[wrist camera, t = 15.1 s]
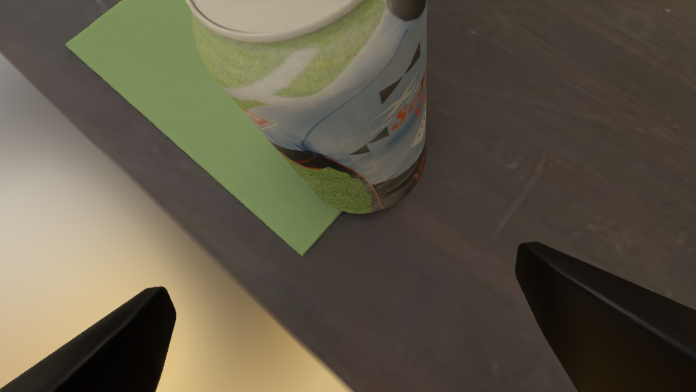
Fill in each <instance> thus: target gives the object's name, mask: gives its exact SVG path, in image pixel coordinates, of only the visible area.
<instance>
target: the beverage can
mask: <svg viewBox="0 0 696 392" xmlns="http://www.w3.org/2000/svg"><path fill="white" fill-rule="evenodd" d="M186 2H187V4H188V6H189V7H190V9H191V11H192V30H193V35H194V39H195V43H196V46H197V50H198V53H199V55H200V57H201V59H202V61H203V62H204V64H205V66H206V68H207V70H208V71H209V73H210V74H211V75H212V76H213V77H214V78H215V79H216V81H217V82H218V83H219V84H220V85H221V86H222V88H223V89H224V90H225V91H226V92H227V93H228V94H229V96H230V97H231V98H232V99H233V100H234V101H235V102H236V104H237V105H238V106H239V107H240V108H241V109H242V110H243V112H244V113H245V114H246V115H247V116H248V117H249V118H250V120H251V121H252V122H253V123H254V124H255V125H256V126H257V128H258V129H259V130H260V131H261V132H262V133H263V134H264V136H265V137H266V138H267V139H268V140H269V141H270V142H271V144H272V145H273V146H274V147H275V148H276V149H277V151H278V152H279V153H280V154H281V155H282V156H283V157H284V159H285V160H286V161H287V162H288V163H289V164H290V165H291V167H292V168H293V169H294V170H295V171H296V172H297V173H298V175H299V176H300V177H301V178H302V179H303V180H304V181H305V183H306V184H307V185H308V186H309V187H310V188H311V189H312V191H313V192H314V193H315V194H316V195H317V196H318V197H319V198H320V199H321V200H322V201H323V202H325V203H326V204H327V205H329V206H331V207H333V208H335V209H337V210H340V211H344V212H348V213H356V214H363V213H372V212H376V211H380V210H383V209H385V208H388V207H390V206H392V205H394V204H395V203H397V202H398V201H400V200H401V199H403V198H404V197H405V196H406V195H407V194H408V193H409V192H410V191H411V190H412V188H413V187H414V186H415V184H416V183H417V181H418V179H419V177H420V175H421V173H422V170H423V167H424V163H425V153H426V56H427V0H186Z"/></svg>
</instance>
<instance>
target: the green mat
mask: <svg viewBox="0 0 696 392" xmlns="http://www.w3.org/2000/svg"><path fill="white" fill-rule="evenodd" d="M65 45H66V46H67V47H68V48H69V49H70V50H71V51H72V52H73V53H75V54H76V55H77V56H78V57H79V58H80V59H81V60H82V61H84V62H85V63H86V64H87V65H88V66H89V67H90V68H91V69H92V70H94V71H95V72H96V73H97V74H98V75H99V76H100V77H101V78H103V79H104V80H105V81H106V82H107V83H108V84H109V85H110V86H112V87H113V88H114V89H115V90H116V91H117V92H118V93H119V94H121V95H122V96H123V97H124V98H125V99H126V100H127V101H128V102H129V103H131V104H132V105H133V106H134V107H135V108H136V109H137V110H138V111H140V112H141V113H142V114H143V115H144V116H145V117H146V118H147V119H149V120H150V121H151V122H152V123H153V124H154V125H155V126H156V127H157V128H159V129H160V130H161V131H162V132H163V133H164V134H165V135H166V136H168V137H169V138H170V139H171V140H172V141H173V142H174V143H175V144H177V145H178V146H179V147H180V148H181V149H182V150H183V151H184V152H185V153H187V154H188V155H189V156H190V157H191V158H192V159H193V160H194V161H196V162H197V163H198V164H199V165H200V166H201V167H202V168H203V169H205V170H206V171H207V172H208V173H209V174H210V175H211V176H212V177H214V178H215V179H216V180H217V181H218V182H219V183H220V184H221V185H222V186H224V187H225V188H226V189H227V190H228V191H229V192H230V193H231V194H233V195H234V196H235V197H236V198H237V199H238V200H239V201H240V202H242V203H243V204H244V205H245V206H246V207H247V208H248V209H249V210H250V211H252V212H253V213H254V214H255V215H256V216H257V217H258V218H259V219H261V220H262V221H263V222H264V223H265V224H266V225H267V226H268V227H270V228H271V229H272V230H273V231H274V232H275V233H276V234H277V235H278V236H280V237H281V238H282V239H283V240H284V241H285V242H286V243H287V244H289V245H290V246H291V247H292V248H293V249H294V250H295V251H296V252H298V253H299V254H300V255H301V256H302V257H303V256H304V255H305V254H306V252H307V251H308V250H309V249H310V248H311V247H312V246H313V245H314V243H315V242H316V241H317V240H318V239H319V238H320V237H321V236H322V234H323V233H324V232H325V231H326V230H327V229H328V228H329V227H330V225H331V224H332V223H333V222H334V221H335V220H336V219H337V218H338V216H339V215H340V214H341V213H342V212H343V211H340V210H337V209H335V208H333V207H331V206H329V205H327V204H326V203H325V202H323V201H322V200H321V199H320V198H319V197H318V196H317V195H316V194H315V193H314V192H313V191H312V189H311V188H310V187H309V186H308V185H307V184H306V183H305V181H304V180H303V179H302V178H301V177H300V176H299V175H298V173H297V172H296V171H295V170H294V169H293V168H292V167H291V165H290V164H289V163H288V162H287V161H286V160H285V159H284V157H283V156H282V155H281V154H280V153H279V152H278V151H277V149H276V148H275V147H274V146H273V145H272V144H271V142H270V141H269V140H268V139H267V138H266V137H265V136H264V134H263V133H262V132H261V131H260V130H259V129H258V128H257V126H256V125H255V124H254V123H253V122H252V121H251V120H250V118H249V117H248V116H247V115H246V114H245V113H244V112H243V110H242V109H241V108H240V107H239V106H238V105H237V104H236V102H235V101H234V100H233V99H232V98H231V97H230V96H229V94H228V93H227V92H226V91H225V90H224V89H223V88H222V86H221V85H220V84H219V83H218V82H217V81H216V79H215V78H214V77H213V76H212V75H211V74H210V73H209V71H208V70H207V68H206V66H205V64H204V62H203V61H202V59H201V57H200V55H199V53H198V50H197V46H196V43H195V39H194V35H193V30H192V11H191V9H190V7H189V6H188V4H187V2H186V0H122V1H120V2H119V3H118V4H116V5H115V6H114V7H113V8H111V9H110V10H109V11H107V12H106V13H105V14H104V15H102V16H101V17H100V18H98V19H97V20H96V21H95V22H93V23H92V24H91V25H90V26H88V27H87V28H86V29H84V30H83V31H82V32H81V33H79V34H78V35H77V36H75V37H74V38H73V39H72V40H70V41H69V42H68V43H66V44H65ZM426 116H427V115H426Z"/></svg>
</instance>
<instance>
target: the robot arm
mask: <svg viewBox="0 0 696 392" xmlns="http://www.w3.org/2000/svg"><path fill="white" fill-rule="evenodd" d="M515 274H516V278H517V280H518V282H519V285H520V287H521V289H522V291H523V293H524V295H525V297H526V299H527V302H528V304H529V306H530V308H531V310H532V312H533V314H534V317H535V319H536V321H537V323H538V325H539V327H540V329H541V331H542V333H543V335H544V336H545V338H546V340H547V341H548V343H549V345H550V346H551V348H552V350H553V351H554V353H555V355H556V356H557V358H558V360H559V361H560V363H561V364H562V366H563V368H564V369H565V371H566V373H567V374H568V376H569V378H570V379H571V381H572V383H573V384H574V386H575V387H576V389H577V391H578V392H696V310H694V309H692V308H689V307H687V306H685V305H682V304H680V303H678V302H675V301H673V300H671V299H669V298H666V297H664V296H662V295H659V294H657V293H655V292H652V291H650V290H648V289H645V288H643V287H641V286H638V285H636V284H634V283H632V282H629V281H627V280H625V279H622V278H620V277H618V276H615V275H613V274H611V273H608V272H606V271H604V270H601V269H599V268H597V267H595V266H592V265H590V264H588V263H585V262H583V261H581V260H578V259H576V258H574V257H571V256H569V255H567V254H564V253H562V252H560V251H558V250H555V249H553V248H551V247H548V246H546V245H544V244H541V243H539V242H527V243H521V244H520V245H519V246H518V250H517V258H516V266H515ZM175 321H176V310H175V308H174V305H173V303H172V301H171V299H170V296H169V294H168V292H167V290H166V288H164V287H162V286H161V287H152V288H147V289H145V290H143V291H142V292H140V293H139V294H137V295H136V296H134V297H133V298H132V299H130V300H129V301H127V302H126V303H124V304H123V305H121V306H120V307H119V308H117V309H116V310H114V311H113V312H111V313H110V314H108V315H107V316H105V317H104V318H102V319H101V320H100V321H98V322H97V323H95V324H94V325H92V326H91V327H89V328H88V329H87V330H85V331H84V332H82V333H81V334H79V335H78V336H76V337H75V338H73V339H72V340H71V341H69V342H68V343H66V344H65V345H63V346H62V347H60V348H59V349H57V350H56V351H55V352H53V353H52V354H50V355H49V356H47V357H46V358H44V359H43V360H41V361H40V362H39V363H37V364H36V365H34V366H33V367H31V368H30V369H28V370H27V371H25V372H24V373H23V374H21V375H20V376H19V377H17V378H15V379H14V380H12V381H11V382H10V383H8V384H7V385H5V386H4V387H2V388H1V389H0V392H155V391H156V389H157V386H158V383H159V380H160V377H161V374H162V371H163V367H164V363H165V360H166V356H167V352H168V348H169V344H170V340H171V337H172V333H173V329H174V325H175Z"/></svg>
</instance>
